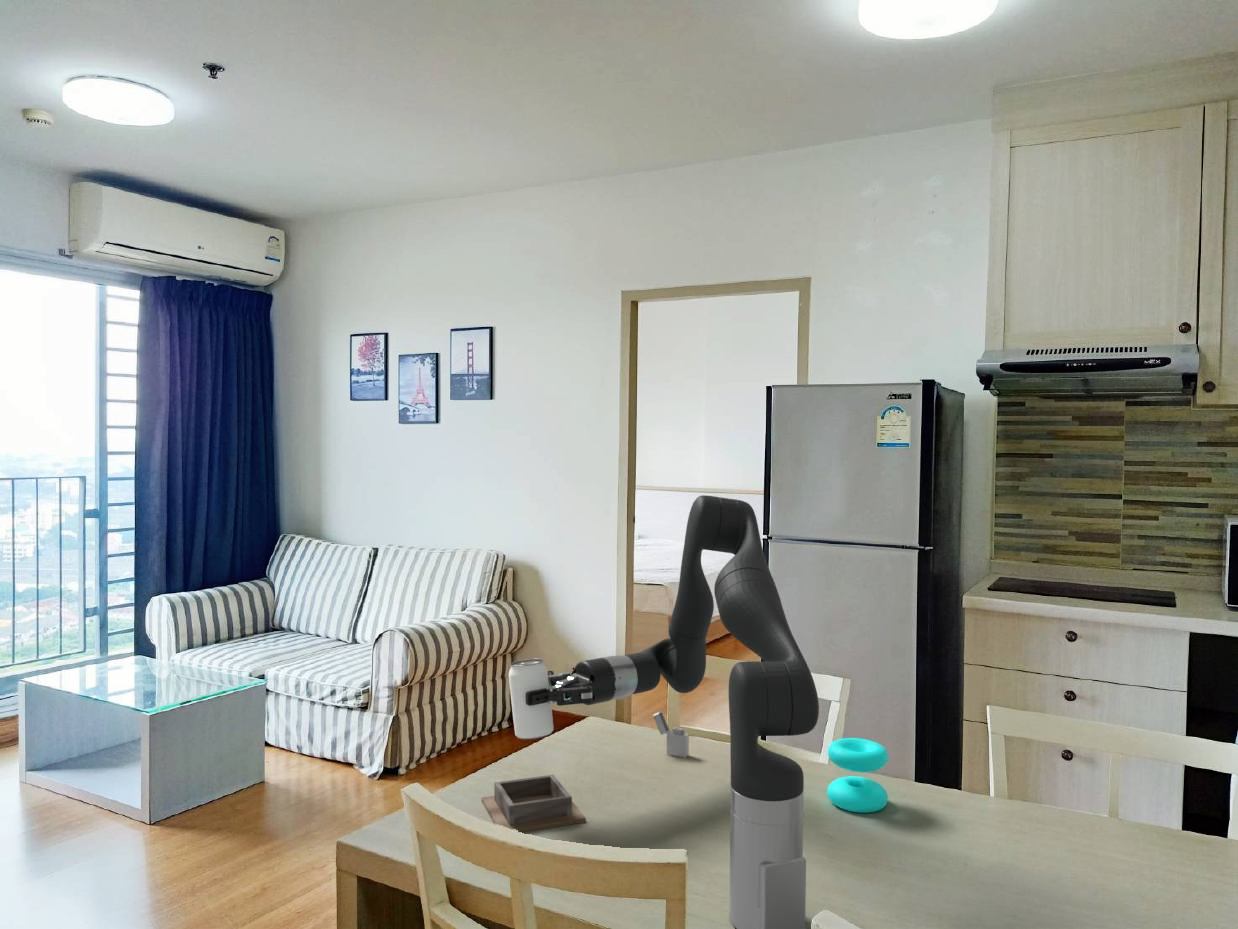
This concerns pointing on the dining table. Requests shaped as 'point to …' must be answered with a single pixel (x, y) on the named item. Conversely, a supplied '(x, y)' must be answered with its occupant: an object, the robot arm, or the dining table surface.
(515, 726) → the can
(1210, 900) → the dining table surface
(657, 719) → the lighter
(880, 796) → the donuts
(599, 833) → the dining table surface
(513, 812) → the can stand
